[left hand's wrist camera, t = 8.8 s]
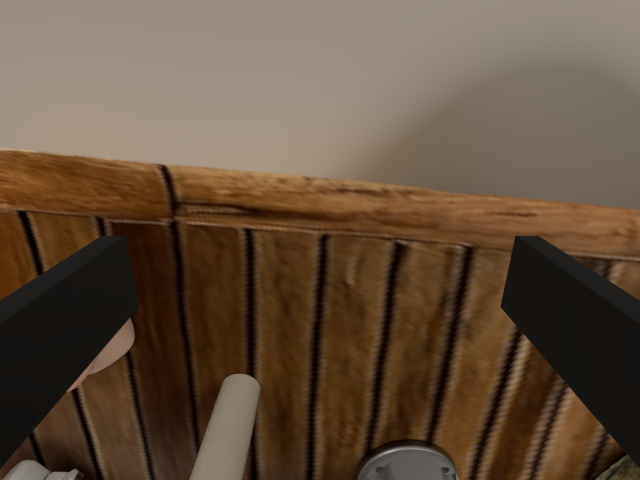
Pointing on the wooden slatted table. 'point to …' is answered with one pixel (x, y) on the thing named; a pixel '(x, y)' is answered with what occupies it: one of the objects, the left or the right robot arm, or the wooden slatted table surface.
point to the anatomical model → (110, 352)
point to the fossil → (621, 470)
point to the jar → (228, 431)
